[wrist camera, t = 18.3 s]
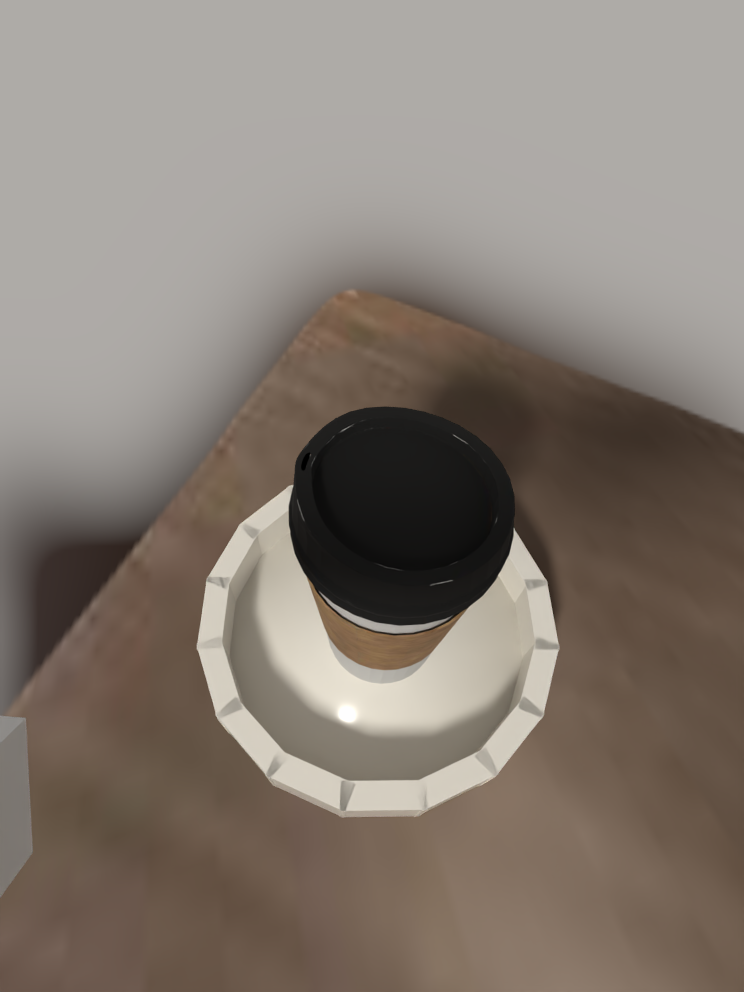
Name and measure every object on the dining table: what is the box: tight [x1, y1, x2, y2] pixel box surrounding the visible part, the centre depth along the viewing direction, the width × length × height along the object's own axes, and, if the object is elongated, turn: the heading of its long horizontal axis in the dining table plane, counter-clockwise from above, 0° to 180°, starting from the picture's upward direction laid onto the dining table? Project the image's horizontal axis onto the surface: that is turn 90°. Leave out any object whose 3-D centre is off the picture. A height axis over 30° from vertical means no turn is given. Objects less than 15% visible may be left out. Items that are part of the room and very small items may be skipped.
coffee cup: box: [289, 407, 515, 684], centre depth 27 cm, size 8×8×15 cm
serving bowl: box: [197, 485, 559, 818], centre depth 33 cm, size 18×18×4 cm
